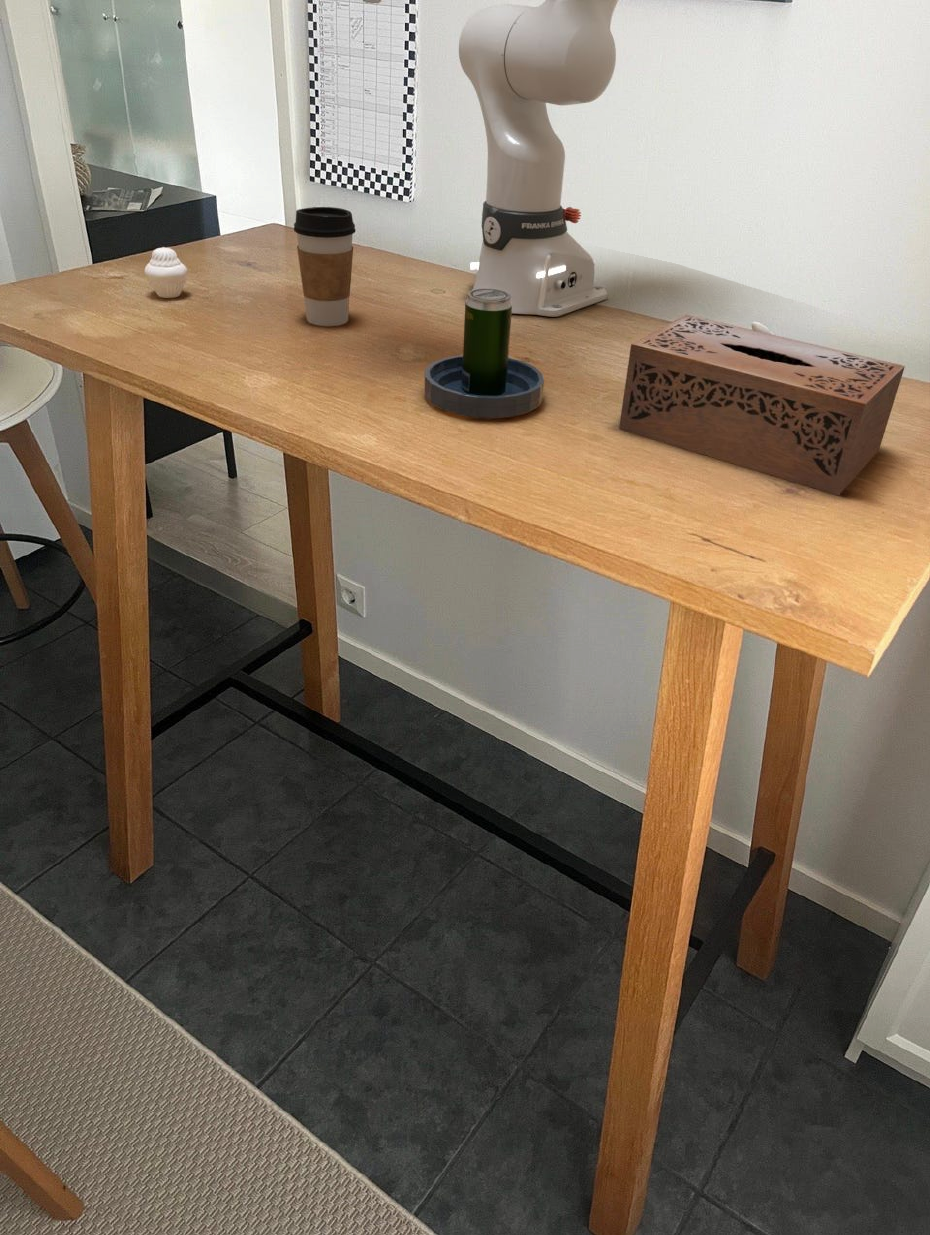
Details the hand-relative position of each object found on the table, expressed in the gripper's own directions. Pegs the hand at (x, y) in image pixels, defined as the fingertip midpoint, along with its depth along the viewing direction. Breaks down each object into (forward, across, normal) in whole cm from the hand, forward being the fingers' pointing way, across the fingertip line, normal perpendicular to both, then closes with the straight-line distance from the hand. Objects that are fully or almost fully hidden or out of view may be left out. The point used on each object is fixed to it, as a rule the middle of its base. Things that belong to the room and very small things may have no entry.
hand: (354, 0), depth 109 cm
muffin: (+40, +33, +16) cm, 54 cm away
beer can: (+40, -20, -8) cm, 45 cm away
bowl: (+40, -20, -8) cm, 45 cm away
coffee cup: (+40, +14, -1) cm, 42 cm away
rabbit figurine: (+40, -25, -49) cm, 68 cm away
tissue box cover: (+40, -43, -30) cm, 66 cm away
